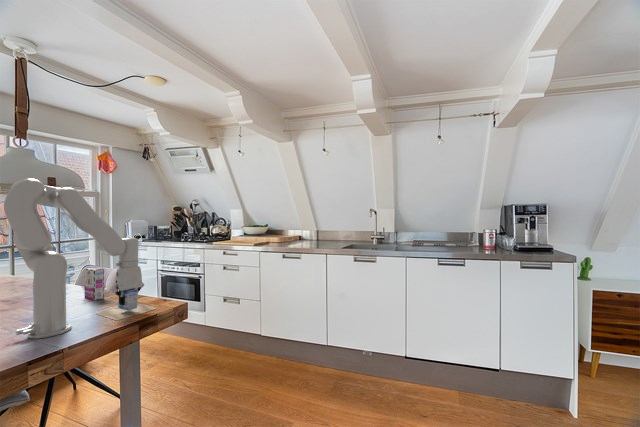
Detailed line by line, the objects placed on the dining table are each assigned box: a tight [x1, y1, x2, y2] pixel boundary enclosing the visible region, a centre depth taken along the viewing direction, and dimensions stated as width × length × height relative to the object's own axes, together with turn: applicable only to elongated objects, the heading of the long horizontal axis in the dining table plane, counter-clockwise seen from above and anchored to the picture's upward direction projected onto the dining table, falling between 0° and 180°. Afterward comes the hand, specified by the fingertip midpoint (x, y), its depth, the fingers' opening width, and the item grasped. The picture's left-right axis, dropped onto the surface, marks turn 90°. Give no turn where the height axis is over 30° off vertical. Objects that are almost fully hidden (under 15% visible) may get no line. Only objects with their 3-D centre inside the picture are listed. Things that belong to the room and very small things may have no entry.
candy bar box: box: [83, 266, 105, 302], centre depth 162 cm, size 11×5×16 cm, turn 60°
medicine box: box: [117, 289, 139, 310], centre depth 138 cm, size 8×4×9 cm, turn 62°
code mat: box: [96, 303, 158, 322], centre depth 140 cm, size 18×18×1 cm
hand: (128, 303), depth 138 cm, fingers closed on medicine box, 4 cm apart
